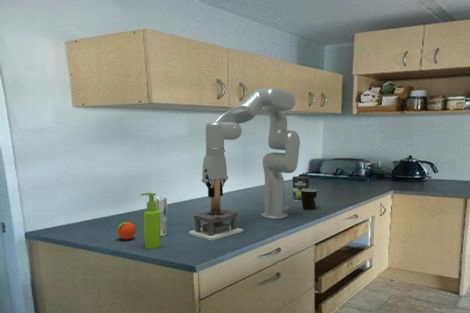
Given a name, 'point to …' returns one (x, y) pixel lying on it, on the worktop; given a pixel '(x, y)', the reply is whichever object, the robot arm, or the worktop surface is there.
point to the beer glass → (162, 214)
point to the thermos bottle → (216, 198)
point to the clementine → (126, 230)
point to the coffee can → (300, 186)
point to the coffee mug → (308, 199)
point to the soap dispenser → (151, 224)
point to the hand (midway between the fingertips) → (215, 195)
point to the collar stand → (215, 225)
